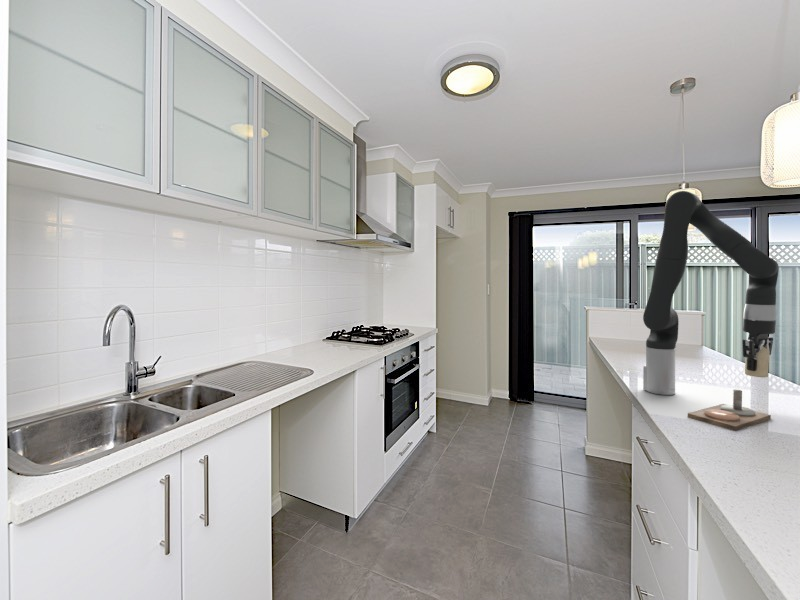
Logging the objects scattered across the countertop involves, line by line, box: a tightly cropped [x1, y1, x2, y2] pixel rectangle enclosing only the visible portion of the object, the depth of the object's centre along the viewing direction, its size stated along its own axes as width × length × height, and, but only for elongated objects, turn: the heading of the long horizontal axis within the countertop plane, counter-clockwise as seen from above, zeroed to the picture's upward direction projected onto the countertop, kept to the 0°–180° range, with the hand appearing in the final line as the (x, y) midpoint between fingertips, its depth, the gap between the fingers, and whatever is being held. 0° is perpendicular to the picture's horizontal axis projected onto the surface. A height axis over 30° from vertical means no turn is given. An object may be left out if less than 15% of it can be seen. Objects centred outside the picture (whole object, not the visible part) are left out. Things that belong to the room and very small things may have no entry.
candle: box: [744, 347, 770, 378], centre depth 119 cm, size 6×6×10 cm
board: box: [687, 388, 772, 431], centre depth 113 cm, size 12×20×8 cm, turn 114°
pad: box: [705, 409, 739, 421], centre depth 111 cm, size 8×8×1 cm
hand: (756, 369), depth 120 cm, fingers closed on candle, 5 cm apart
